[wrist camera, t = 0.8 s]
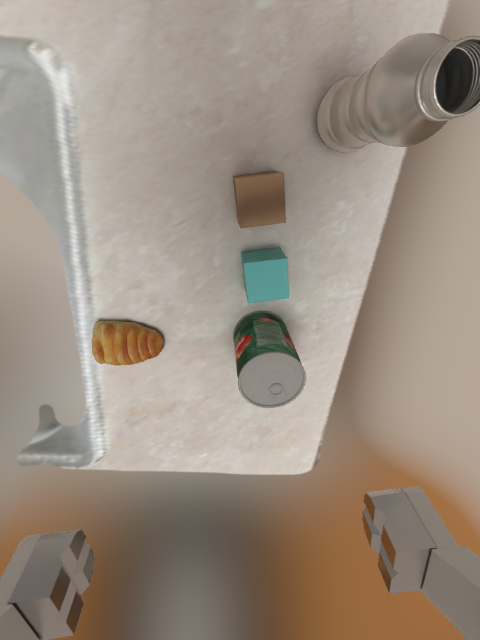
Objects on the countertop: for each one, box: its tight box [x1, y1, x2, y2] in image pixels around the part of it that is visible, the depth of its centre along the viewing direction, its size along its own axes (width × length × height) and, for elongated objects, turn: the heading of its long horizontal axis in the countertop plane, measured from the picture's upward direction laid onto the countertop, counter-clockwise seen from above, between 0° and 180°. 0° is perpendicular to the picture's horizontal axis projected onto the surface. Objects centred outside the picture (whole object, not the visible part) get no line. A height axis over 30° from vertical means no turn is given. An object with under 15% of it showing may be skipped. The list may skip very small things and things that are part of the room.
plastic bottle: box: [317, 33, 480, 153], centre depth 27 cm, size 6×7×20 cm
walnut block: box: [233, 171, 286, 228], centre depth 37 cm, size 5×5×5 cm
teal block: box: [241, 248, 289, 303], centre depth 41 cm, size 5×5×5 cm
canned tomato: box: [233, 311, 306, 408], centre depth 43 cm, size 8×8×11 cm
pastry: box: [92, 320, 164, 365], centre depth 45 cm, size 9×7×4 cm
